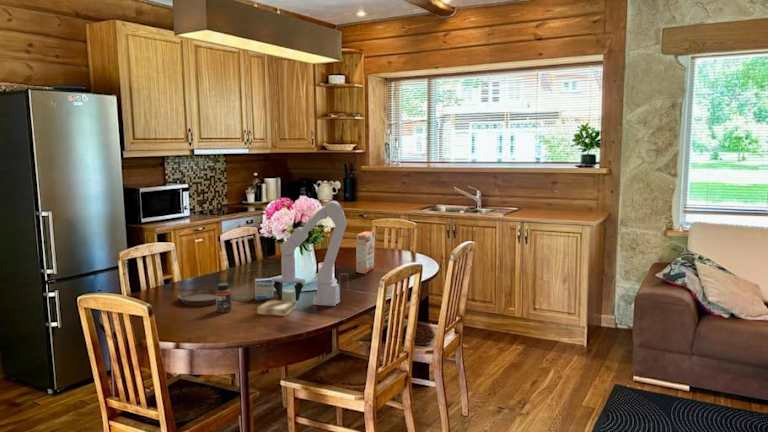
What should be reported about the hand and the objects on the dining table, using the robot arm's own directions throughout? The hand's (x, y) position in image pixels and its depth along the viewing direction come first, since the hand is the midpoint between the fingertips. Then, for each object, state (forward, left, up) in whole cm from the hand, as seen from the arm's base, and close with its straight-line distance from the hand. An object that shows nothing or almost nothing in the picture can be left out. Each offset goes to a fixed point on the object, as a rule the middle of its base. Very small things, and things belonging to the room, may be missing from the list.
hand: (288, 299), depth 249 cm
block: (0, 0, -2) cm, 2 cm away
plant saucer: (+39, +3, -2) cm, 39 cm away
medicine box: (+14, -6, -2) cm, 15 cm away
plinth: (+1, +11, -2) cm, 11 cm away
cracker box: (-17, -67, -2) cm, 69 cm away
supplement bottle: (+22, +16, -2) cm, 27 cm away
